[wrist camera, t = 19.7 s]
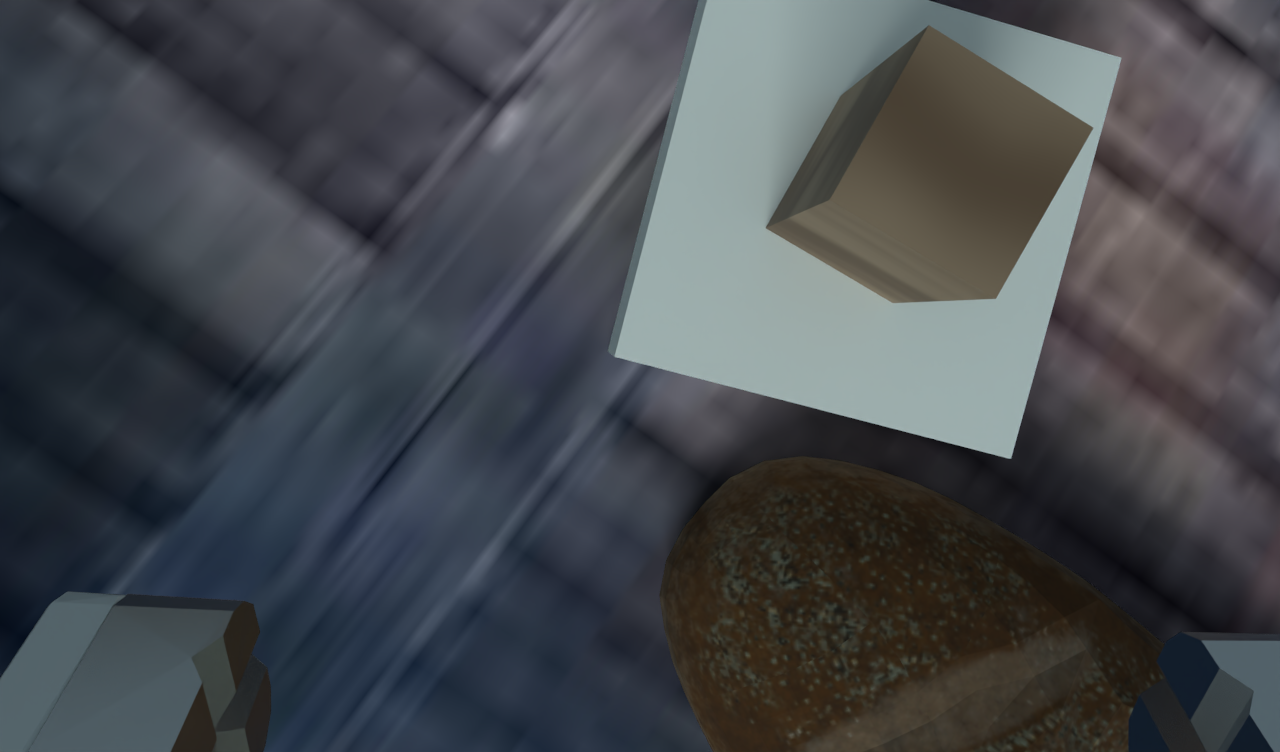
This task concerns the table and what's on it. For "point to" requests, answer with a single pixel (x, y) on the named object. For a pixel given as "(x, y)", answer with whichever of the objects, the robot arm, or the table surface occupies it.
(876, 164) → the walnut block
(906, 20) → the painted base block
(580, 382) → the table surface
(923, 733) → the bread
